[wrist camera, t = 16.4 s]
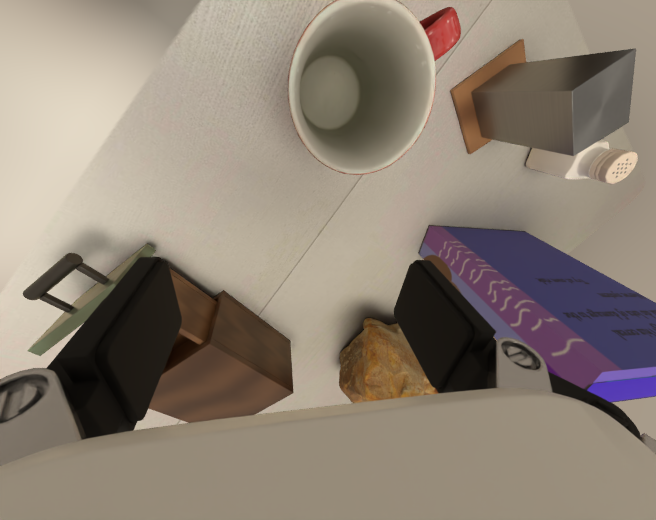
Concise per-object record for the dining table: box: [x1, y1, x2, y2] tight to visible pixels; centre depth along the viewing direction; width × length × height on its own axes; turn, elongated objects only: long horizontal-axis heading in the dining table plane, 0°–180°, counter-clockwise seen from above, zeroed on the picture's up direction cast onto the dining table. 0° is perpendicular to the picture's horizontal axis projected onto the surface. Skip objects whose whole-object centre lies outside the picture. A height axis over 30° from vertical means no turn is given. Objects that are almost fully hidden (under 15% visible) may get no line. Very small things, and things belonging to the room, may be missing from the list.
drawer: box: [23, 244, 217, 369], centre depth 31 cm, size 19×13×8 cm
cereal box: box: [419, 225, 656, 402], centre depth 30 cm, size 17×5×24 cm, turn 82°
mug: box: [288, 0, 461, 175], centre depth 20 cm, size 13×9×14 cm
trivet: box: [450, 39, 526, 154], centre depth 29 cm, size 8×8×1 cm
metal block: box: [471, 49, 636, 156], centre depth 24 cm, size 6×4×12 cm
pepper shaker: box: [526, 140, 638, 184], centre depth 30 cm, size 4×4×10 cm
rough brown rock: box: [339, 318, 439, 403], centre depth 44 cm, size 23×17×15 cm
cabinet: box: [148, 291, 293, 423], centre depth 38 cm, size 16×15×10 cm
